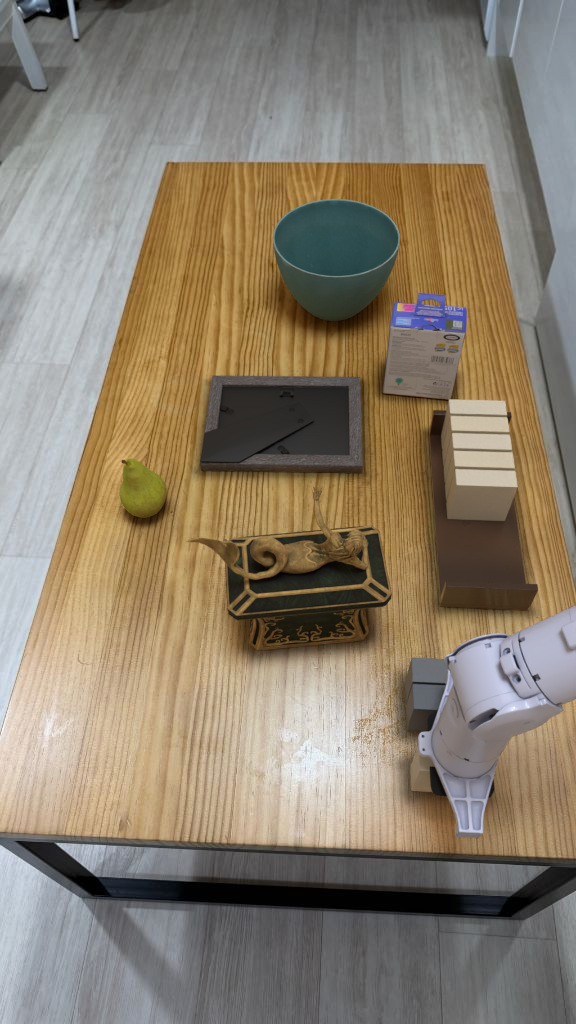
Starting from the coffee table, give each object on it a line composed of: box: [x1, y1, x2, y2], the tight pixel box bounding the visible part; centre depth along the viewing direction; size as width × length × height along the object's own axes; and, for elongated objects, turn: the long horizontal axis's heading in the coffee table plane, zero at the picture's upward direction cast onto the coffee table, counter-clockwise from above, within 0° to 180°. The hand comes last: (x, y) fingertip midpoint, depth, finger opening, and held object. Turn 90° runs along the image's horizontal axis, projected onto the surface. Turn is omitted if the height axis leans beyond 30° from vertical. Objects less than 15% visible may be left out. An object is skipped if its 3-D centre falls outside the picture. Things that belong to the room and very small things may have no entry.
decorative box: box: [185, 484, 393, 651], centre depth 78 cm, size 20×10×20 cm, turn 95°
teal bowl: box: [272, 198, 401, 322], centre depth 112 cm, size 18×18×12 cm
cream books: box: [441, 398, 519, 521], centre depth 93 cm, size 14×7×7 cm, turn 177°
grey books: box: [404, 657, 447, 733], centre depth 76 cm, size 5×8×6 cm
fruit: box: [119, 458, 168, 519], centre depth 90 cm, size 6×6×12 cm
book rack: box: [428, 409, 539, 611], centre depth 91 cm, size 26×10×5 cm, turn 177°
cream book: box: [409, 747, 497, 793], centre depth 72 cm, size 2×7×7 cm, turn 87°
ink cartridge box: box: [382, 292, 468, 401], centre depth 100 cm, size 10×6×14 cm, turn 81°
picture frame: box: [199, 375, 364, 474], centre depth 101 cm, size 16×2×21 cm
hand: (448, 774), depth 73 cm, fingers closed on cream book, 2 cm apart
